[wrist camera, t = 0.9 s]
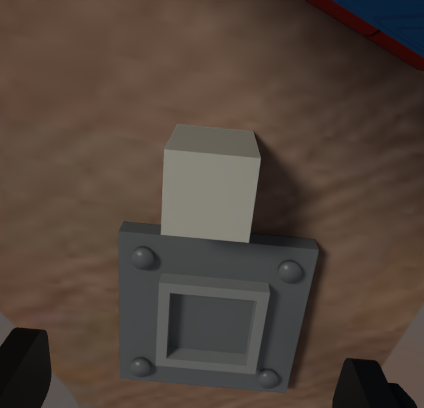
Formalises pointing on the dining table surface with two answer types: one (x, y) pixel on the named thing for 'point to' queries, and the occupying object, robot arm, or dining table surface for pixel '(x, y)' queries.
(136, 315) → the baseplate
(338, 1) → the toy robot
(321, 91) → the dining table surface
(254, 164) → the brick
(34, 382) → the robot arm
